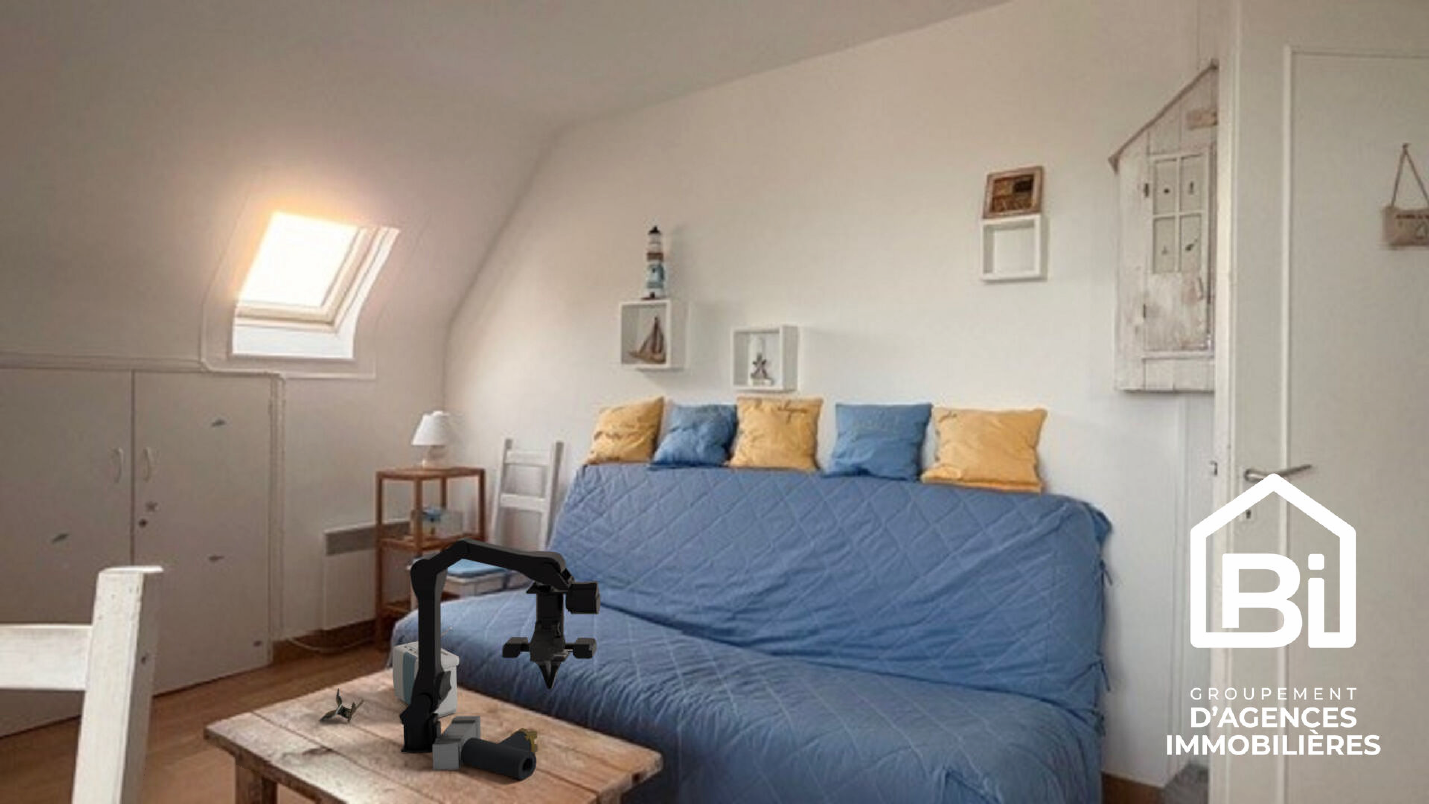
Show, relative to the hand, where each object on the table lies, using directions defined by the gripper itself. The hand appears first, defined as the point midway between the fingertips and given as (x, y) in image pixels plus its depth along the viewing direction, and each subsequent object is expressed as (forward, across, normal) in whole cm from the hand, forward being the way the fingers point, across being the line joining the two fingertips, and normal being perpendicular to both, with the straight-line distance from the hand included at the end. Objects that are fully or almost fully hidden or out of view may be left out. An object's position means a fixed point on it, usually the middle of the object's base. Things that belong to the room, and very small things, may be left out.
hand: (550, 688), depth 167 cm
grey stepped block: (+12, -18, -5) cm, 22 cm away
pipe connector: (+12, -6, -9) cm, 16 cm away
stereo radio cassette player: (+12, -35, +21) cm, 42 cm away
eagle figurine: (+13, -52, +13) cm, 55 cm away
